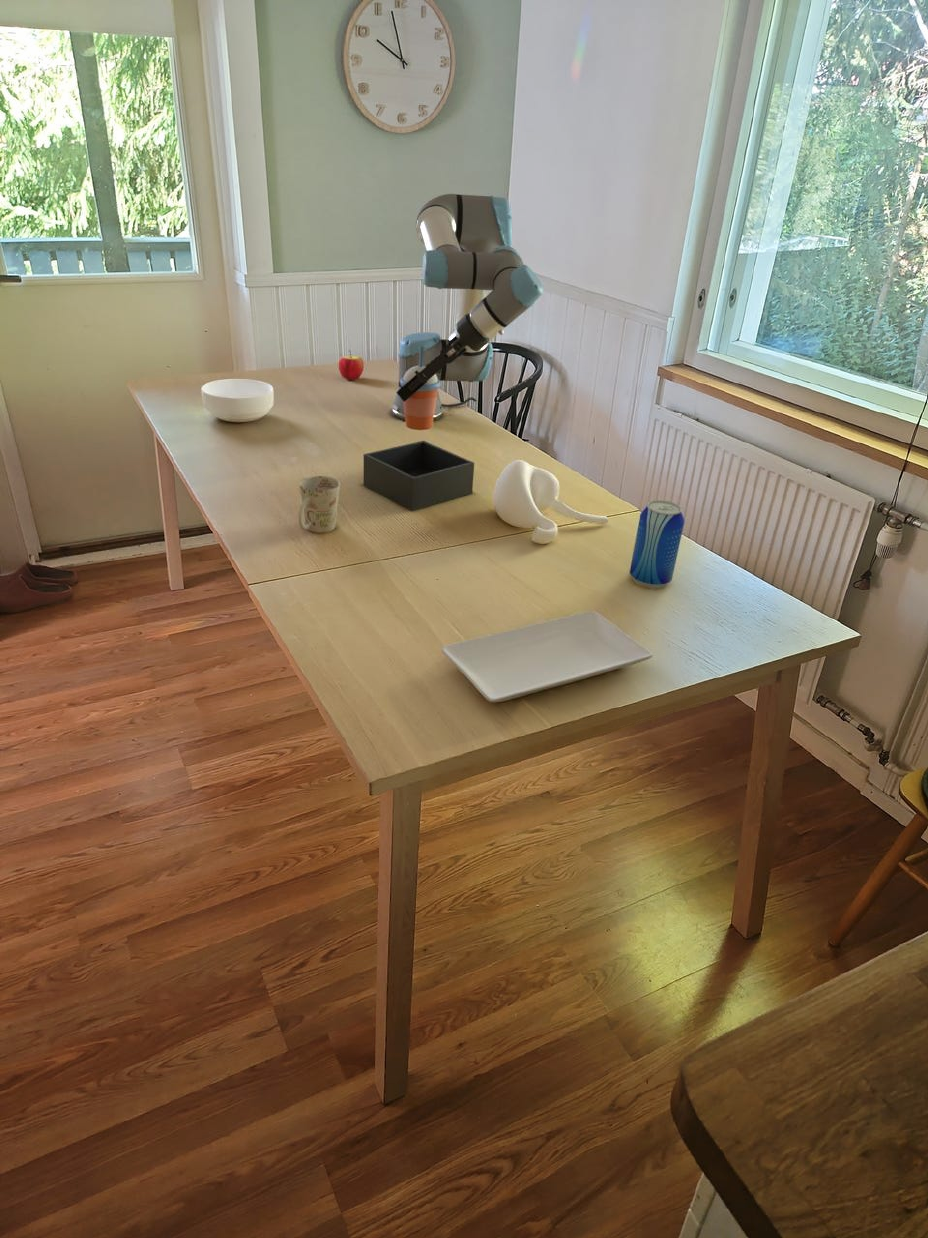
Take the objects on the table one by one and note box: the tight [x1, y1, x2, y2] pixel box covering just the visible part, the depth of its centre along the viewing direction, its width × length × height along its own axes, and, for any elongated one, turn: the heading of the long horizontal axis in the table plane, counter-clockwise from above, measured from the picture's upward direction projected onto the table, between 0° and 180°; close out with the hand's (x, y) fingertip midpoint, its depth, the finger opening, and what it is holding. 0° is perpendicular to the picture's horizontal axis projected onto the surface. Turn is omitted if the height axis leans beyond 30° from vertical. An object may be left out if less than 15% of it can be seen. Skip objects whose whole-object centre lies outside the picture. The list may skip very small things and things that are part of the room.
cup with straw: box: [400, 346, 442, 431], centre depth 190 cm, size 9×9×18 cm
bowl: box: [200, 378, 275, 423], centre depth 238 cm, size 20×20×8 cm
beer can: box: [629, 499, 685, 590], centre depth 164 cm, size 8×8×16 cm
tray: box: [441, 610, 653, 703], centre depth 137 cm, size 17×32×4 cm, turn 119°
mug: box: [298, 475, 341, 534], centre depth 175 cm, size 8×13×10 cm, turn 161°
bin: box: [363, 440, 475, 511], centre depth 200 cm, size 19×19×8 cm
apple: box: [337, 349, 365, 381], centre depth 280 cm, size 8×8×10 cm
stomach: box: [493, 459, 609, 545], centre depth 188 cm, size 23×13×24 cm
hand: (406, 391), depth 191 cm, fingers closed on cup with straw, 9 cm apart
